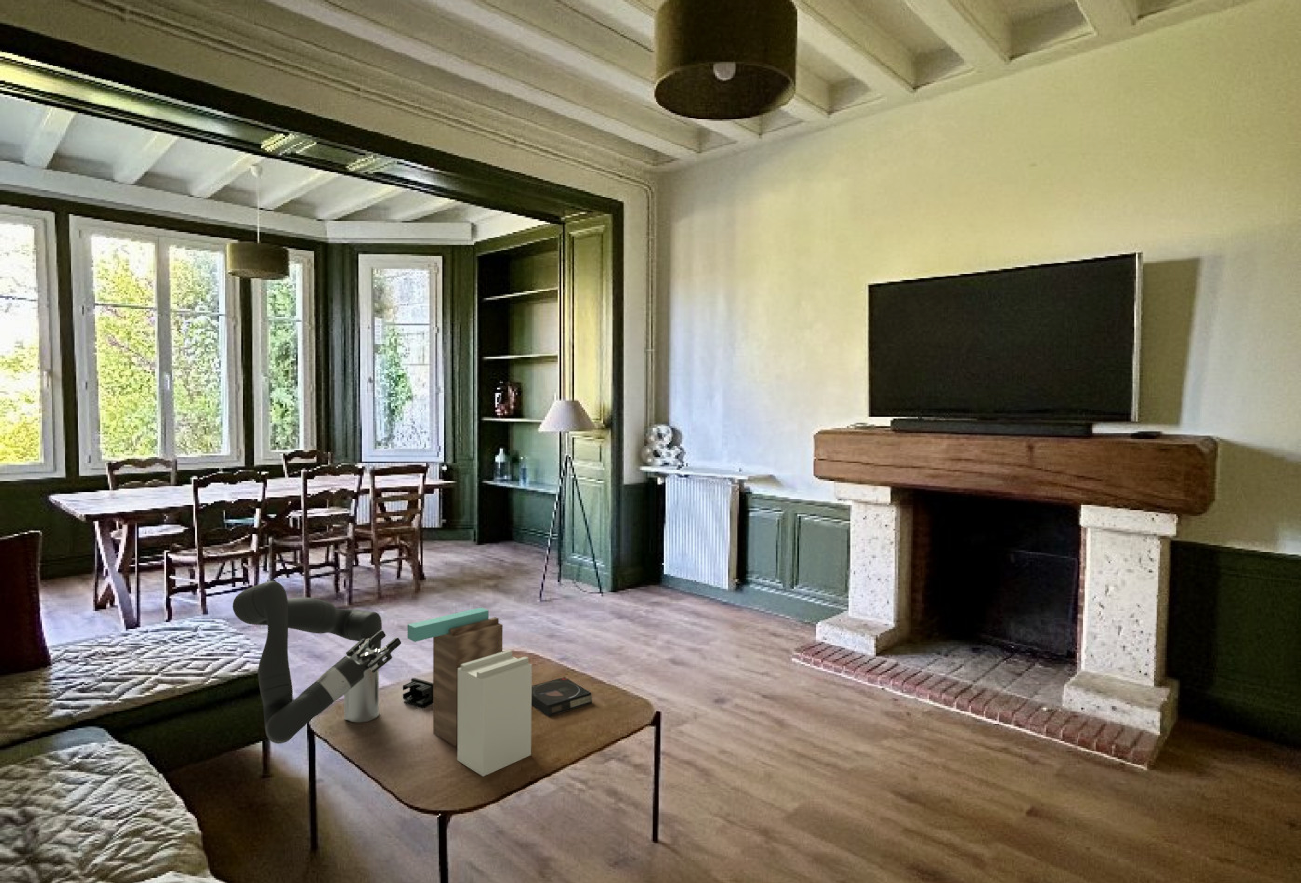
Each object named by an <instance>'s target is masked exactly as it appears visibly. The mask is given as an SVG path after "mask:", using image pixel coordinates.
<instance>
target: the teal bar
mask: <svg viewBox="0 0 1301 883" xmlns="http://www.w3.org/2000/svg"><path fill="white" fill-rule="evenodd" d="M489 616H490V614H489V610H488V609H486V608H485V607H477V608H473V609H468V610H464V611H460V612H456V613H451V614H447V615H443V616H439V617H434V618H429V619H425V620H420V621H417V622H412V623H407V639H408V640H410V641H412V642H414V643H416V642H419V641H423V640H427V639H433V637H436V636H440V635H444V634H448V633H449V629H452V628H456V627H460V626H463V625H467V624H471V623H475V622H479V621H483V620H487V619H490V618H489Z"/></svg>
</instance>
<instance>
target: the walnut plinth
mask: <svg viewBox="0 0 1301 883" xmlns="http://www.w3.org/2000/svg"><path fill="white" fill-rule="evenodd" d="M499 620H500V619H499V618H498V617H496V616H495V617H491V618H489V619H487V620H483V621H479V622H475V623H471V624H467V625H463V626H460V627H456V628H452V629H449V633H448V634H444V635H440V636H436V637H432V639H433V640H432V641H433V642H432V644H433V645H432V647H433V648H432V652H433V653H432V655H433V656H432V660H433V661H432V663H433V664H432V666H433V667H432V671H433V672H432V677H433V678H432V683H433V704H432V712H433V713H432V723H433V725H432V729H433V730H432V732H433V734H434V735H435V736H437V737H439V738H440V739H442V740H444V741H445V742H447V743H449V744H450V745H452V746H454V748H458V668H460V667H461V664H464V663H467V662H470V661H474V660H477V659H480V658H483V657H487V656H490V655H493V654H497V653H500V652H503V629H504V627H503V624H502V623H499V622H500V621H499Z"/></svg>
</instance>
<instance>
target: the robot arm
mask: <svg viewBox="0 0 1301 883" xmlns="http://www.w3.org/2000/svg"><path fill="white" fill-rule="evenodd" d="M232 610H233V613H234V615H235V616H236V617H237V619H238V620H240V621H241V622H243V623H245V624H248V625H252V626H253V625H254V626H257V625H259V626H267V634H266V640H265V642H264V643H265V644H264V648H263V651H262V653H261V656H260V660H259V663H258V669H257V670H258V671H257V677H258V685H259V691H260V698H261V700H262V705H263V718H264V730H265V731H264V732H265V735H266V737H267V739H268V740H269V741H271V743H274V744H285V743H287V742H289V741H290V740H291V739H292V738H294V736H295V735H296V734H297V733H299V732H300V731H301V730H302V729H303V728H304V727H306V726H307V724H308V723H309V722H311V721H312V719H314V718H315V717H316V716H318V715H321V713H323V712H324V711H325V710H326V709H328V708H329V707H330V706H332V704H333V703H335V702H336V701H337V700H338V699H340V698H341V697H343V700H344V701H343V703H344V704H343V709H344V710H343V711H344V712H343V713H344V715H343V716H344V720H345V721H349V722H352V723H365V722H369V721H372V720H374V719H376V718H377V717H379V714H380V688H379V686H380V684H379V680H380V679H379V677H380V676H379V675H380V674H379V673H380V669H381V668H382V667H383V666H384V665H386V664H387V663H388V662H389V661H391V660H392V659H393V656H392V652H393V651H395V650H396V649H397V648H398V647H399V646H400V645H401V644H402V641H401V639H400V637H397V636H396V637H394V638H393V639H392V640H391V641H389V642H388V643H387V644H386V645H385V646H384V647H382V640H384V639H385V638H386V636H387V635H386V633H385V632H384V630H383V628H382V627H383V620H382V618H381V615H380V614H379V613H378V612H375V611H371V610H363V609H343V608H337V607H336V606H335V605H334V604H333V603H331V602H329V601H327V600H323V599H319V598H316V597H294V598H288V595H287V591H286V589H285V588H284V586H283V585H282V584H281V583H280V582H278V581H275V580H268V581H265V582H262V583H259V584H257V585H255V586H251V587H248V588H247V589H244V590H243V591H241V592H240V593H238V594H237V595H236V596H235V597H234V599H233V603H232ZM289 629H290V630H291V629H292V630H296V631H302V632H306V633H312V634H320V635H321V634H327V633H328V634H333V635H335V636H339V637H340V638H343V639H345V640H349V641H354V642H357V643H355V644H354V645H353V646H352V647H351V648H350V649H348V650H347V651H346V652H345V654H346V655H344V656H343V657H342V658H341V659H339V660H338V661H337V662H336V663H335V664H333V665H332V666H331V667H330V668H329V669H328V670H326V671H325V672H323V674H322V675H320V677H319V678H318V679H316V681H314V682H313V683H312V684H310V685H309V686H308V687H307V688H306V689H304V690H303V691H302V692H301V693H300V694H299V695H298V696H297V697H296V698H294V699H293V684H292V683H293V682H292V677H291V671H290V663H289V651H288V649H289V646H288V645H289V644H288V643H289V640H288V639H289Z"/></svg>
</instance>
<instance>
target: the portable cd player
mask: <svg viewBox="0 0 1301 883" xmlns="http://www.w3.org/2000/svg"><path fill="white" fill-rule="evenodd" d="M592 698H593V697H592V692H591V691H590V690H587V689H585V688H584V687H582V686H580V685H579V684H577V683H575V682H574V681H572V680H570V679H569V678H567V677H565V676H564V677H560V678H556V679H552V680H549V681H546V682H545V681H544V682H542V683H537V684H534V685H533V684H532V699H531V707H534V708H535V709H537V710H538V711H539V712H541V713H542V714H544V715H545V716H546V717H552V716H555V715H558V714H561V713H565V712H568V711H571V710H574V709H578V708H581V707H584V706H588V705H591V704H593V699H592Z"/></svg>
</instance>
